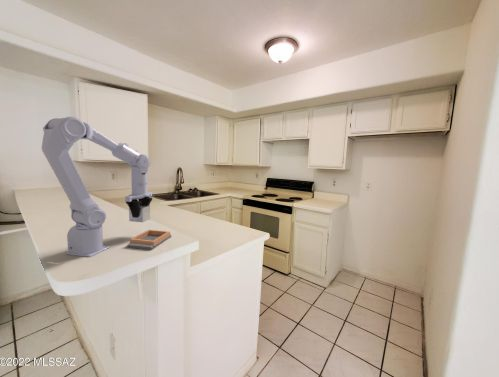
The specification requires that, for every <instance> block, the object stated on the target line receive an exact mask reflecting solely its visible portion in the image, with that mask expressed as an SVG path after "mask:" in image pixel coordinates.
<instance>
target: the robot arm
mask: <svg viewBox="0 0 499 377" xmlns="http://www.w3.org/2000/svg"><path fill="white" fill-rule="evenodd" d="M42 129H43V137H42V144H41V150H42V153H43V154H44V156H45V158H46V160H47V162H48V163H49V166H50V167H51V169H52V171H53V172H54V175H55V177H56V178H57V180H58V182H59V184H60V185H61V187H62V189H63V192H64V193H65V195H66V196H67V198H68V200H69V202H70V204H69V209H70V211H71V215H70V216H71V217H70V218H71V220H72V221H74V223H75V225H73V226H71V227H70V229H69V230H68V231H67V233H66V234H67V235H66V238H67V251H66V252H65V255H70V256H71V255H72V256H80V257H86V258H87V257H89V258H90V257H91V258H92V257H94V256H95V255H97V254H100V253H101V252H104V251H105V250H107V249H110V246H109V245H104V237H103V236H104V235H103V234H104V233H103V224H104V223H105V222H106V219H107V214H106V211H105V210H103V209H101V208H100V206H99V204H98V203H97V202H96V201H95V200H94V199H93V198H92V197H91V195H90V193H89V192H88V190H87V187H86V185H85V183H84V182H83V180H82V177H81V175H80V173H79V172H78V169H77V167H76V166H75V164H74V162H73V159H72V157H71V155H70V153H69V151H70V150H71V148H72V146H73V145H74V143H77V142H78V141H79V140H89V141H90V142H92V143H94V144H96V145H98V146H101V147H102V148H104V149H106V150H109V151H111V154H112V156H113V157H115V158H117V159H118V160H120V161H122V162H124V163H127V164H128V166H129V168H131V169H130V172H131V175H130V176H131V180H130V181H131V194H128V195H125V196H124V201H125V204H126V205H127V206H128V209H129V208H130V210H131V213H132V216H133V217H134V218H138V217H139V208H140V205H149V206H151V205H150V204H151V203H152V201H153V197H152V196H153V192H152V191H148V171H149V167H150V165H151V161H150V159H149V157H148V156H147V155H145V154H141V153H140V152H139V151H138V150H135V149H133V148H131V147H130V146H129V144H128V143H123V142H120V143H117V142H115V141H114V140H112V139H111V138H109V137H108V136H106V135H105V134H103V133H102V132H100V131H98V130H97V129H95V127H93V126H91V125H90V124H89V123H87V122H85V121H82V119H80V118H78V117H75V116H67V117H60V118H57V117H56V118H55V117H54V118H51V119H49V120H48V121H47V122H46V123H45V125H44V126H43V127H42Z"/></svg>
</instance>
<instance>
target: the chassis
mask: <svg viewBox="0 0 499 377" xmlns="http://www.w3.org/2000/svg"><path fill="white" fill-rule="evenodd" d="M170 238H172V233H171V231H166V230H157V229H148V230H145V231H143V232H141V233H140V234H137V235H135V236H133V237H131V238H129V243H127V248H133V249H141V250H142V249H143V250H150V251H151V250H152V251H153V250H154V249H155V248H156V247H159V246H160V245H161V244H163V243H164V242H166V241H167V240H169V239H170Z"/></svg>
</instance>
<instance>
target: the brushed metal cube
mask: <svg viewBox="0 0 499 377" xmlns="http://www.w3.org/2000/svg"><path fill="white" fill-rule="evenodd" d="M128 218H129V219H128V220H129V222H134V223H145V222H148V221H150V220H151V205H140V208H139V217H138V218H134V217H133V216H132V213H131V210H130V208H129V207H128Z"/></svg>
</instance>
